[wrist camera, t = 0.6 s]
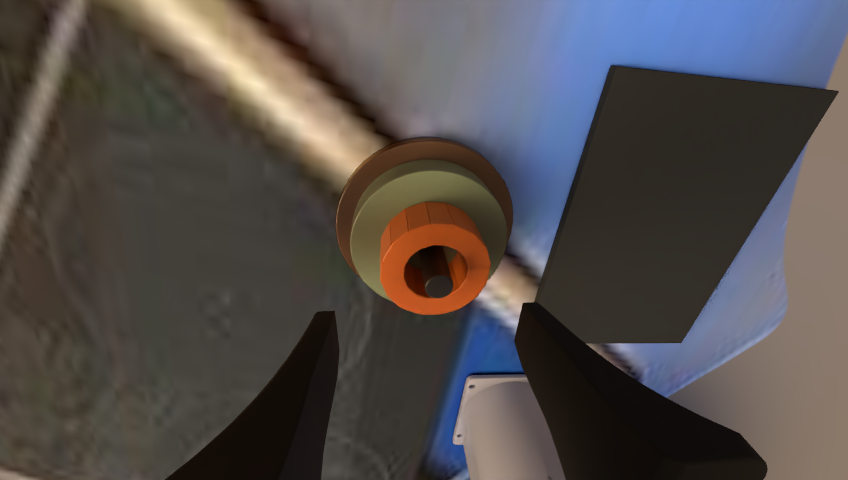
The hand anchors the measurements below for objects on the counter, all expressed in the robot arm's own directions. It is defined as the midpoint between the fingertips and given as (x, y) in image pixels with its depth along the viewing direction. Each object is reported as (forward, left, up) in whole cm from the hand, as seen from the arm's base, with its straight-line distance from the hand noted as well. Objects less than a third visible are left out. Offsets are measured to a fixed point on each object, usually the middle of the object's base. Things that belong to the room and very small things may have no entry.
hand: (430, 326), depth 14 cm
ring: (-1, -1, -7) cm, 7 cm away
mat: (-1, -17, -10) cm, 20 cm away
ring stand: (-1, -1, -10) cm, 10 cm away
